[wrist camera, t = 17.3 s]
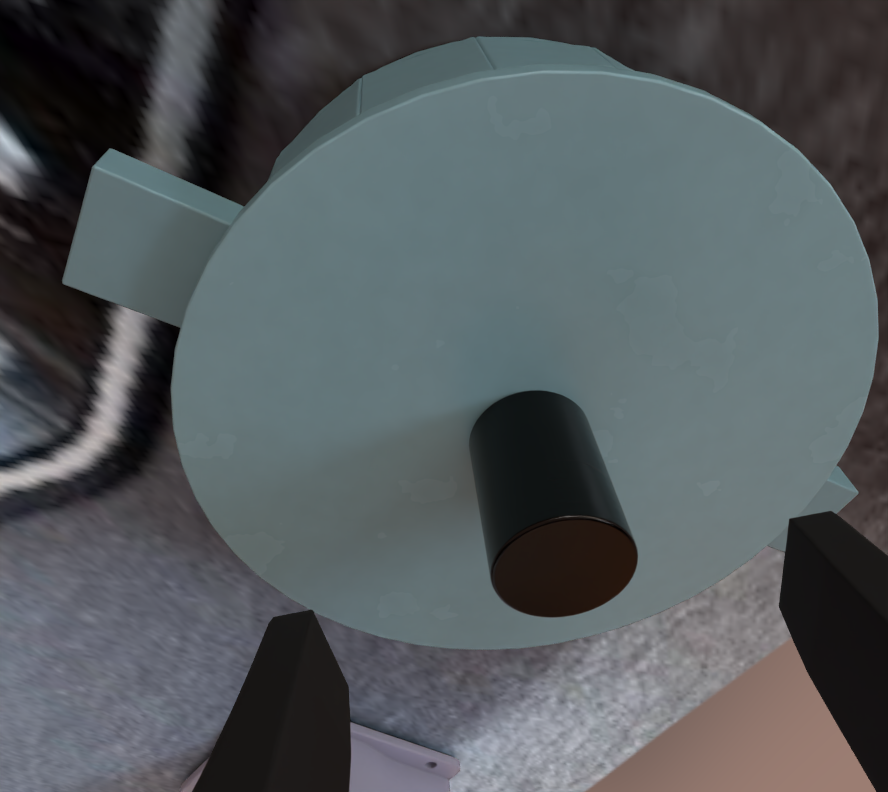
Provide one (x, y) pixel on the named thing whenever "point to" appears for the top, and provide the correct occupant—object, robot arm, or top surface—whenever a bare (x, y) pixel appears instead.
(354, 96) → the pot
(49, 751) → the top surface
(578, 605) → the lid
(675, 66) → the top surface
